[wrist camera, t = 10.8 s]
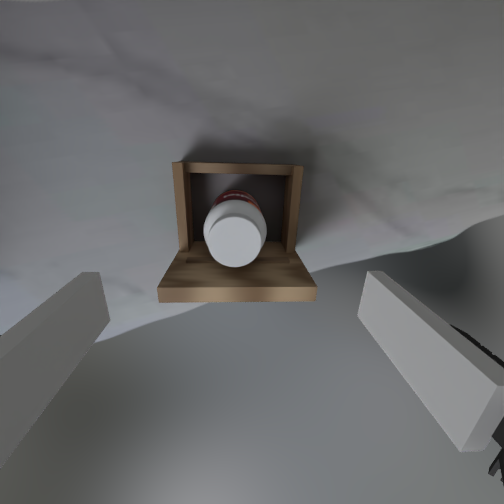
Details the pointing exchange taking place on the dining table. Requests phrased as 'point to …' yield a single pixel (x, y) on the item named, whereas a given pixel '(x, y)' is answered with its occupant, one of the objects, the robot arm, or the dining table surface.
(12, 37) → the dining table surface
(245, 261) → the pill bottle
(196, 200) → the dining table surface
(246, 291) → the brown wooden l-shaped frame
